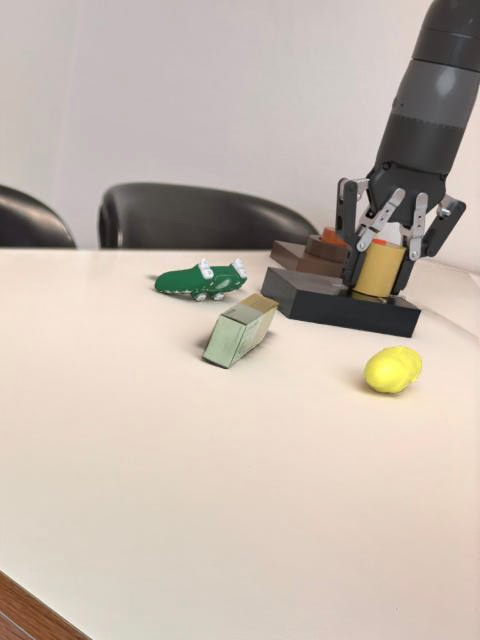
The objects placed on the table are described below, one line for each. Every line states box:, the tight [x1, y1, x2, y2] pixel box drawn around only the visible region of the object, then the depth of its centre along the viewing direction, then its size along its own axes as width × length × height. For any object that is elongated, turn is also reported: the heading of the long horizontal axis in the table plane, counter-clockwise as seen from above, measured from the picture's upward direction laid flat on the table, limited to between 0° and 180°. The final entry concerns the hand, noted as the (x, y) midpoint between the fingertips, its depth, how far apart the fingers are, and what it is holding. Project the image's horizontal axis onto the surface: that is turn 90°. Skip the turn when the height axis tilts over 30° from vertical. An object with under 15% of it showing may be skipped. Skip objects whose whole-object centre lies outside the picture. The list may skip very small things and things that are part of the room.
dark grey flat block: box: [259, 266, 422, 339], centre depth 116 cm, size 14×10×3 cm
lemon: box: [363, 345, 423, 394], centre depth 92 cm, size 4×8×4 cm, turn 137°
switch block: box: [269, 234, 348, 279], centre depth 137 cm, size 12×10×4 cm
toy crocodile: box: [153, 257, 248, 302], centre depth 111 cm, size 9×4×6 cm
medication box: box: [201, 292, 279, 370], centre depth 94 cm, size 12×3×4 cm, turn 154°
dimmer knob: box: [351, 238, 406, 297], centre depth 114 cm, size 4×4×5 cm
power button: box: [321, 226, 347, 246], centre depth 136 cm, size 4×4×2 cm
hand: (370, 289), depth 115 cm, fingers closed on dimmer knob, 4 cm apart
